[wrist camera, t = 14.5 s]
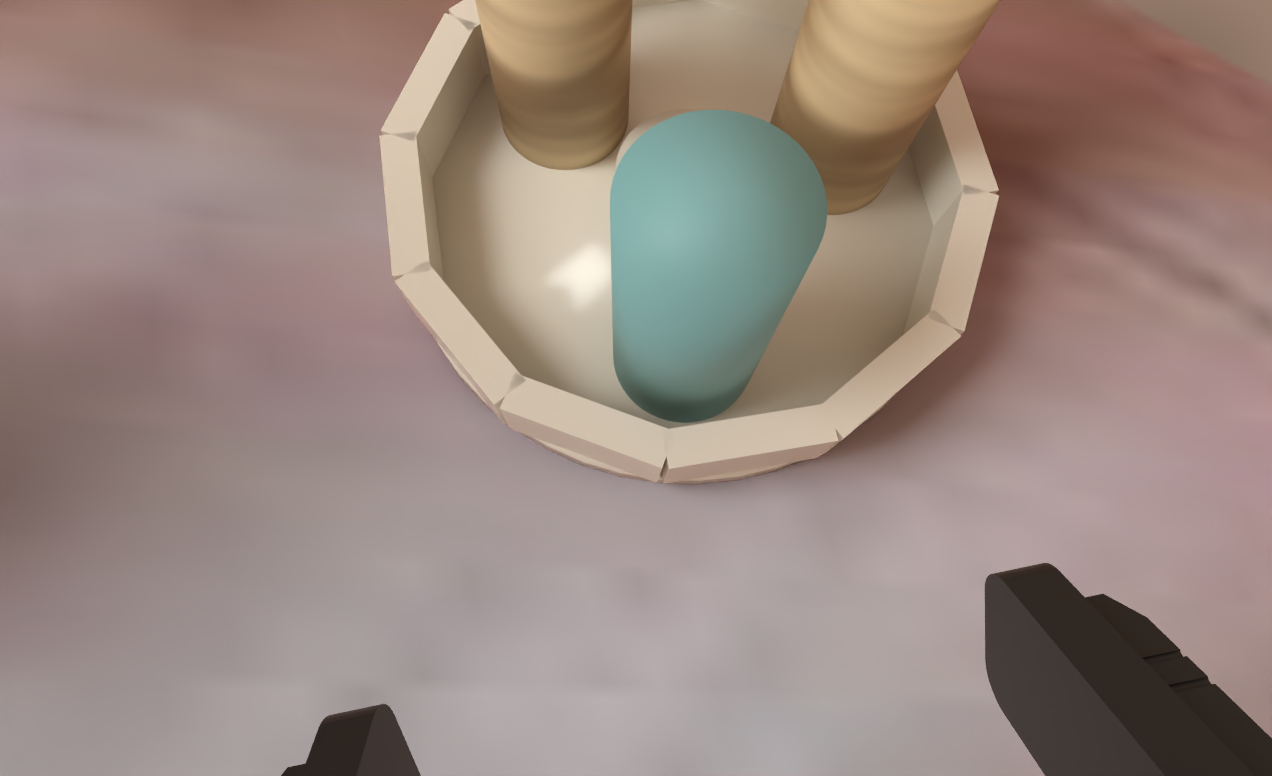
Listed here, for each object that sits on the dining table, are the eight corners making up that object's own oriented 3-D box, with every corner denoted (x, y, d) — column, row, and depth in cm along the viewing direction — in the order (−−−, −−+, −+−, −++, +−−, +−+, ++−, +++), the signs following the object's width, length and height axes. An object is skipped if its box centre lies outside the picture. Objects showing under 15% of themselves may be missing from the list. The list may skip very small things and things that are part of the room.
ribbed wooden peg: (870, 232, 28) (1003, 31, 19) (746, 190, 29) (813, -28, 19) (903, 127, 30) (1042, -111, 20) (783, 88, 30) (864, -164, 20)
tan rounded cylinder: (601, 186, 28) (597, -35, 19) (481, 145, 29) (416, -92, 19) (646, 84, 30) (663, -171, 20) (530, 46, 30) (493, -222, 21)
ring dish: (868, 571, 26) (908, 562, 22) (313, 365, 27) (269, 327, 24) (997, 91, 32) (1046, 24, 28) (534, -58, 33) (525, -139, 30)
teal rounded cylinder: (726, 443, 26) (789, 333, 16) (591, 392, 26) (576, 257, 17) (771, 318, 27) (853, 149, 18) (642, 272, 28) (655, 83, 18)
